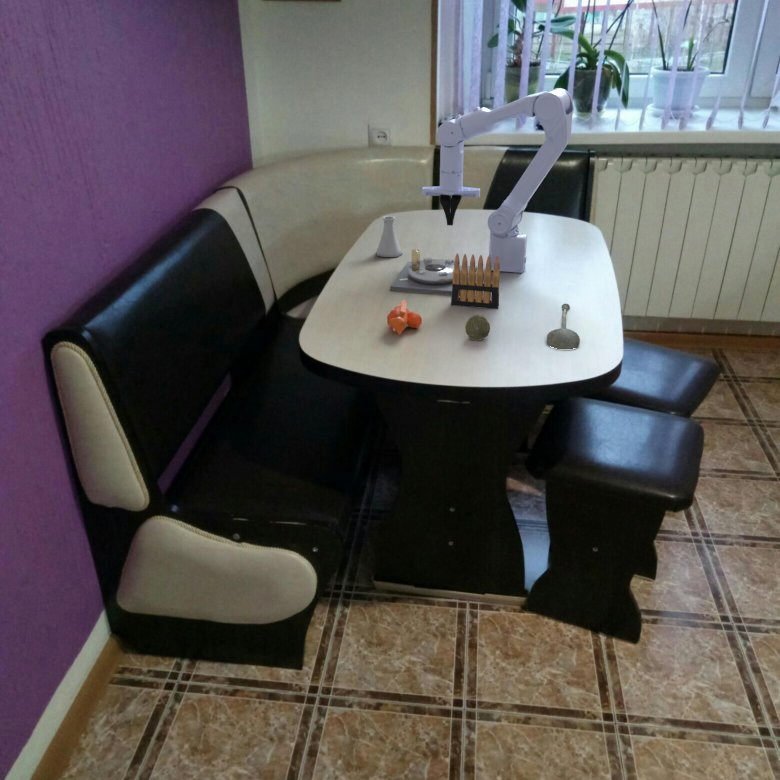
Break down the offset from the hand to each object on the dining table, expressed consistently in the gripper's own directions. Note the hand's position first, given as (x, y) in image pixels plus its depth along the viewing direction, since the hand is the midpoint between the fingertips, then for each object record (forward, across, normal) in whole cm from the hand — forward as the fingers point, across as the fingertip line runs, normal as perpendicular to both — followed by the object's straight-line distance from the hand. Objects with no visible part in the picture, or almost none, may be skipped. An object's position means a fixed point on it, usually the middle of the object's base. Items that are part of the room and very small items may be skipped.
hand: (450, 224), depth 188 cm
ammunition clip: (+10, +9, -31) cm, 33 cm away
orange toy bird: (+10, -4, -45) cm, 46 cm away
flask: (+10, -17, +2) cm, 19 cm away
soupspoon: (+10, +29, -40) cm, 50 cm away
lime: (+10, +11, -48) cm, 50 cm away
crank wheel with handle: (+8, -2, -16) cm, 18 cm away
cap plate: (+9, -2, -16) cm, 18 cm away
